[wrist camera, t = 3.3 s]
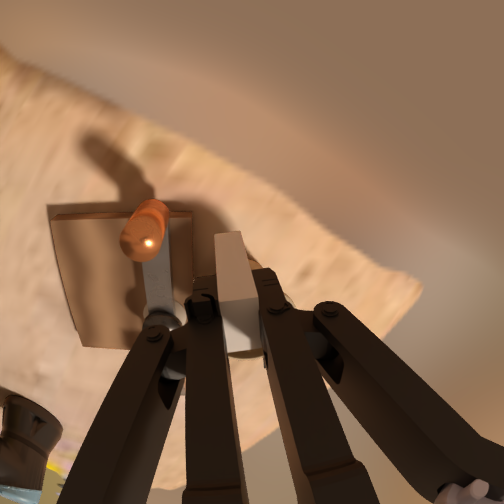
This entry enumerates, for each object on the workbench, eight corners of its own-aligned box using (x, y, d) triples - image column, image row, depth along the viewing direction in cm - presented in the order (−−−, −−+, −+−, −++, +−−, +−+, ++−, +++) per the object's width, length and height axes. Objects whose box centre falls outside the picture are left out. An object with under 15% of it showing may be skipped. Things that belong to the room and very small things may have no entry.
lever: (188, 366, 37) (188, 413, 30) (154, 366, 36) (149, 412, 29) (178, 193, 27) (169, 221, 20) (132, 194, 27) (108, 222, 20)
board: (86, 337, 36) (82, 347, 34) (57, 214, 28) (49, 221, 26) (196, 340, 39) (196, 352, 37) (192, 211, 31) (191, 218, 29)
